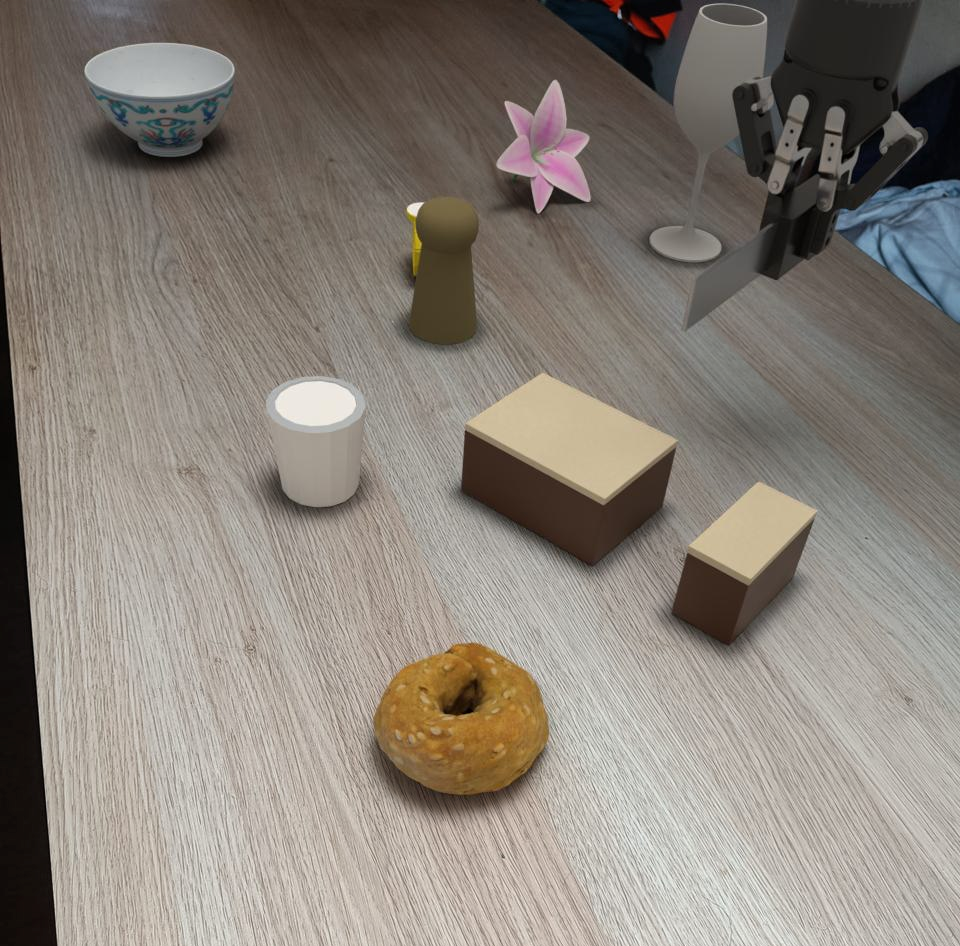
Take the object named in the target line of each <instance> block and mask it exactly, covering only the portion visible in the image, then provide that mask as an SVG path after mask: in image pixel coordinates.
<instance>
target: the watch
mask: <svg viewBox="0 0 960 946" xmlns="http://www.w3.org/2000/svg"><path fill="white" fill-rule="evenodd" d="M423 203H424V201H423V202H421V201H420V202H414V203H411V204H409V205H407V207H406V218H407V220H408V221H410V222H412V275H413V277H415V278H416V276H417V270H418V264H419V258H420V251H421V245H422V243H421V241H420V240H419V238H418V236H417V232H416V228H415V221H416V217H417V213H418V210H419V208H420V207H421V206H422V204H423Z"/></svg>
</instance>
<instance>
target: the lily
mask: <svg viewBox="0 0 960 946" xmlns="http://www.w3.org/2000/svg"><path fill="white" fill-rule="evenodd" d="M504 106H505V109H506V112H507V115H508V117H509V119H510V122H511V124H512V126H513V129H514V131H515V133H516V136H517V137H516V138H515V139H514V141H512V143H511V144H510V145H509V146H508V147H507V148H506V149H505V151H503V153H501V155H500V157H498V160H497V161H496V167H497V169H499V170H501V171H504V172H507V173H510V174H514V176H512V178H511V180H512V181H513V182H515V180H516V179H517V177H518V176H524V177H528V178H529V179H530V186H531V192H532V198H533V202H534V203H533V204H534V208H535V212H536V213H537V214H540V213H541V212H542V211H543V210H544V209H545V207H546V205H547V204H548V202H549V200H550V197H551V195H552V193H553V190H554V187H556V188H558V189H560V190H562V191H564V192H565V193H568V194H570V195H571V196H573V197H575V198H577V199H579V200H581V201H583V202H585V203H589V202H591V199H592V196H591V193H590V187H589V185H588V181H587V178H586V176H585V174H584V171H583V168H582V167H581V165H580V163H579V162H578V160H577V159H576V156H578V155H579V154H580V153H581V152H582V150H584V149H585V147H586V146H587V145H588V143H589V141H590V135H589V134H588V133H586V132H583V131H580V130H577V129H573V128H567V122H568V121H567V110H566V104H565V98H564V94H563V91H562V88H561V85H560V82H558V80H557V79H554V80H552V81H551V83H550V84H549V86H548V88H547V89H546V91H545V94H544V96H543V98H542V99H541V101H540V103H539V105H538V107H537V109H536V111H535V112H534V114H532V113H531V112H530V111H528V110H527V109H525V108H524V107H522V106H520V105H519V104H516V103H515V102H512V101H510V100H505V101H504Z"/></svg>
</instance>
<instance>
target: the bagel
mask: <svg viewBox="0 0 960 946" xmlns="http://www.w3.org/2000/svg"><path fill="white" fill-rule="evenodd" d="M544 706H545V705H544V699H543V697H542V694H541V689H540V687H539V685H538V682H537V680H535V679H534V677H533V676H532V674H531V673H530V672H529V671H528V670H526V669H525V668H523V667H522V666H520V665H518V664H516V663H515V662H513V661H512V660H510V659H508V658H506V657H505V656H503V655H502V654H500V653H499V652H497V651H495V650H494V649H492V648H491V647H487V646H486V645H484V644H481V643H479V642H467V643H466V642H465V643H462V642H461V643H456V644H454V645H451V646H450V647H449V648H448V649H447V650H446V651H445V652H440V653H438V654H432V655H430V656H428V657H425V658H423V659H420V660H418V661H416V662H415V661H414V662H410V663H409V664H407V665H405V666H404V667H402V669H401V670H399V671H398V672H397V673H396V675H395V676H394V677H393V678H392V679H391V680H390V682H389V684H388V685H387V687H386V688H385V691H384V692H383V693H382V696H381V698H380V702H379V704H377V707H376V712H375V714H374V715H373V718H372V719H373V720H372V721H373V725H374V736H375V738H376V740H377V743H378V746H379V748H380V749H381V751H382V752H383V753H385V754H386V755H387V756H388V758H389V760H390V761H391V762H392V763H393V764H394V766H395V767H396V768H397V769H398V770H400V771H401V772H402V773H403V774H405V776H407V777H408V778H410V779H412V780H413V781H415V782H419V784H421V785H422V786H423V787H426V788H428V789H430V790H433V791H435V792H438V793H443V794H450V795H458V796H461V795H465V796H466V795H467V796H471V795H477V794H483V793H488V792H496V791H500V790H502V788H505V787H508V786H509V785H511V783H512V782H514V781H515V780H516V779H518V778H520V777H521V776H522V775H524V774H525V773H526V772H527V771H528V770H529V769H530V768H531V767H532V765H533V763H534V762H535V760H536V758H537V757H538V756H539V754H540V753H541V752H542V751H543V750H544V747H546V745H547V743H548V741H549V738H550V737H549V736H550V727H549V716H548V714H547V711H546V708H545V707H544ZM468 709H470V710H471V711H472V712H470V713H466V712H467V710H468ZM464 713H465V714H464Z"/></svg>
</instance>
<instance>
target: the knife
mask: <svg viewBox="0 0 960 946" xmlns="http://www.w3.org/2000/svg"><path fill="white" fill-rule="evenodd" d="M819 181H820V175H819V173H816V174H815V175H813V176H812V177H811V178H809V179H807V180H806V181H805V182H803V183H802V184H800V185H799V186H797V187H795V188H796V189H794V190H793V191H791V192H790V193H788V194H787V195H785V196H784V197H783V198H781V199H780V200H778V201H777V202H775V203H774V204H772V205H771V206H769V207H768V208H766V209H765V208H764V209H765V210H764V209H763V213H764V214H763V213H762V216H763V218H761V220H762V222H761V221H760V224H761V226H760V225H759V229H758V232H756V233H754V234H753V235H752V236H750V237H749V238H747V239H746V240H745V241H743V242H742V243H740V244H739V245H737V246H736V247H735V248H733V249H732V250H731V251H729V252H727V253H726V254H724V255H723V256H722V257H720V258H719V259H718V260H716V261H715V262H713V263H712V264H711V265H709V266H707V267H706V268H705V269H703V270H702V271H700V272H699V273H698V274H696V275H694V277H692V279H691V283H690V287H689V292H688V297H687V302H686V307H685V311H684V316H683V321H682V326H681V331H683V332H687V331H688V330H690V329H691V328H692V327H693V326H695V325H696V324H697V323H699V322H700V321H702V319H704V318H705V317H707V316H708V315H709V314H711V313H712V312H713V311H715V310H716V309H718V308H719V307H720V306H721V305H723V304H724V303H725V302H727V301H728V300H729V299H730V298H732V297H733V296H734V295H736V294H738V293H739V292H740V291H741V290H742V289H744V288H745V287H747V286H748V285H749V284H751V283H752V282H753V281H754V280H756V279H757V278H759V277H760V276H764V277H767V278H769V279H771V280H774V281H779V280H780V279H781V278H783V276H785V275H786V274H787V273H788V272H790V271H791V270H792V269H794V268H796V266H798V265H799V264H800V263H802V262H803V261H804V260H805V259H803V258H800V257H799V255H800V251H801V247H802V244H803V240H804V237H805V233H806V230H807V226H808V223H809V219H810V216H811V212H812V209H813V208H814V207H816V197H817V192H818V186H819Z"/></svg>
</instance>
